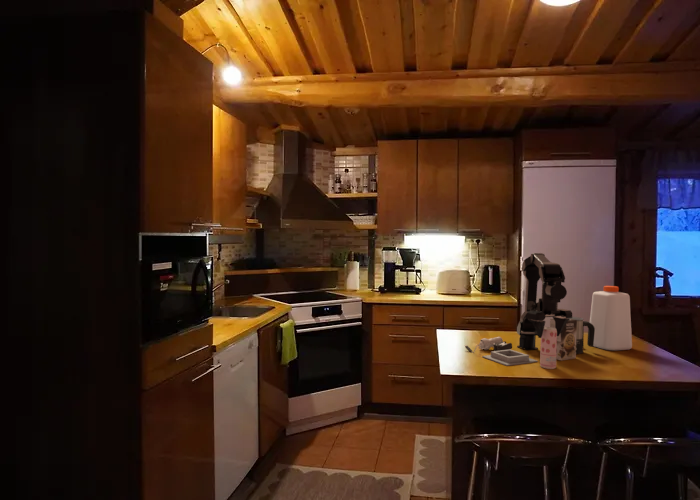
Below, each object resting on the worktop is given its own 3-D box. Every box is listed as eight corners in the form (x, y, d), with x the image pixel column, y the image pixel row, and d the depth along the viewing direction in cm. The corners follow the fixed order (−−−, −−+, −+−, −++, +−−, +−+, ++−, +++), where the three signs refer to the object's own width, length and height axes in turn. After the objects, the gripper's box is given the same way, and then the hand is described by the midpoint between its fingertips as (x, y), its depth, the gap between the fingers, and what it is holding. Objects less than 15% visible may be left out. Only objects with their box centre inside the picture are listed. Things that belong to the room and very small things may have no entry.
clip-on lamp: (475, 362, 195) (514, 352, 198) (473, 348, 194) (512, 338, 197) (463, 353, 206) (500, 343, 209) (461, 339, 205) (498, 329, 208)
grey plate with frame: (511, 353, 198) (512, 347, 198) (537, 361, 185) (537, 355, 185) (482, 357, 192) (482, 351, 191) (506, 366, 179) (507, 359, 179)
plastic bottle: (608, 342, 223) (610, 284, 222) (636, 349, 209) (638, 287, 208) (583, 344, 218) (584, 284, 218) (610, 351, 204) (612, 288, 203)
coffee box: (561, 360, 188) (562, 321, 187) (548, 357, 193) (549, 318, 193) (576, 358, 192) (577, 319, 191) (563, 354, 198) (564, 317, 197)
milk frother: (568, 354, 198) (569, 320, 198) (546, 345, 214) (547, 313, 213) (597, 353, 201) (598, 319, 201) (573, 344, 217) (574, 313, 216)
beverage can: (546, 369, 175) (547, 329, 174) (536, 365, 180) (537, 327, 180) (559, 368, 176) (560, 329, 176) (549, 364, 182) (550, 326, 181)
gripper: (550, 292, 189) (549, 331, 189) (515, 294, 181) (514, 334, 181) (573, 296, 179) (572, 336, 179) (538, 298, 171) (536, 340, 171)
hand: (548, 336), depth 178 cm, fingers open, 9 cm apart
